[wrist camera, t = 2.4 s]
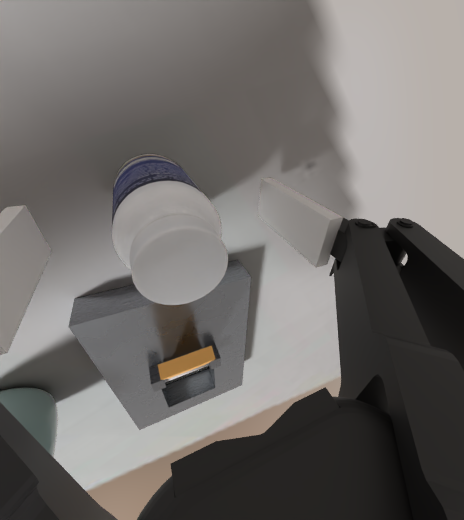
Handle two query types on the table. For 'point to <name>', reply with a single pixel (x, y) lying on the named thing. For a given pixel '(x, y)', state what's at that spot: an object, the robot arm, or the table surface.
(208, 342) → the hitch plate
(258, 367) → the table surface
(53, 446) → the cup
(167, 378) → the lever
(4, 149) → the table surface
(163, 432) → the table surface
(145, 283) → the pill bottle
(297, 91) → the table surface
